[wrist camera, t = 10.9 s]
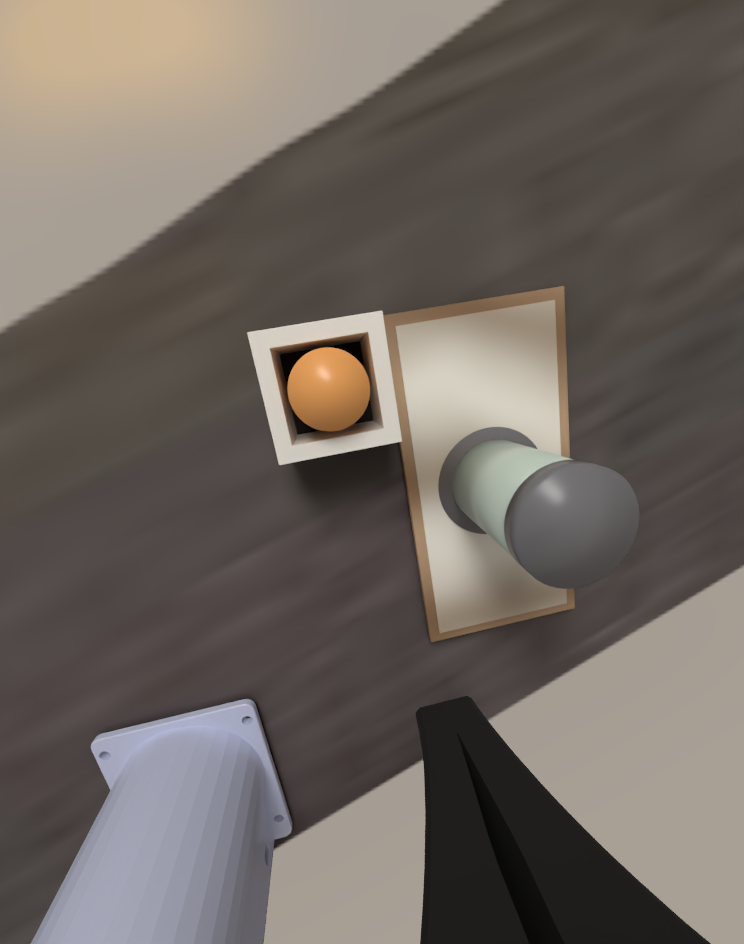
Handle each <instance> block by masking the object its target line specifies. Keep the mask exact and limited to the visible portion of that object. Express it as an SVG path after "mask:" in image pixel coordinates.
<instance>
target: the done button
mask: <svg viewBox="0 0 744 944" xmlns="http://www.w3.org/2000/svg"><path fill="white" fill-rule="evenodd" d="M287 389H288V398H289V401H290V404H291V407H292V409H293V410H294V412H295V414H296V415H297V416H298V417H299V418H300V419H301V420H302V421H303V422H304V423H305V424H307V425H308V426H310V427H312V428H314V429H317V430H321V431H331V432H332V431H339V430H343V429H345V428H347V427H349V426H351V425H353V424H354V423H355V422H356V421H357V420H358V419H359V418H360V417H361V416H362V415H363V413H364V412H365V410H366V408H367V405H368V402H369V398H370V383H369V378H368V375H367V373H366V371H365V369H364V367H363V366H362V364H361V363H360V362H359V361H358V360H357V359H356V358H355V357H354V356H353V355H351V354H350V353H348V352H346V351H344V350H341V349H338V348H332V347H324V348H318V349H315V350H312V351H310V352H308V353H306V354H305V355H304V356H302V357H301V358H300V359H299V360H298V361H297V362H296V364H295V365H294V367H293V368H292V370H291V373H290V375H289V379H288V386H287Z"/></svg>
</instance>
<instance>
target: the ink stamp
mask: <svg viewBox="0 0 744 944" xmlns="http://www.w3.org/2000/svg"><path fill="white" fill-rule="evenodd" d="M452 491H453V496H454V499H455V501H456V503H457V505H458V507H459V508H460V509H461V510H462V511H463V513H465V514H466V515H467V516H468V517H469V518H470V519H471V520H472V521H474V522H475V523H476V524H477V525H478V526H479V527H480V528H481V529H482V530H484V531H485V532H486V533H487V534H488V535H489V536H490V537H491V538H493V539H494V540H495V541H496V542H497V543H498V544H499V545H500V546H501V547H503V548H504V549H505V550H506V551H507V552H508V553H509V554H510V555H512V556H513V558H514V559H515V560H516V561H517V563H518V564H519V565H520V566H522V567H523V568H524V569H525V570H526V571H527V572H528V573H529V574H530V575H532V576H533V577H534V578H535V579H536V580H538V581H540V582H541V583H543V584H545V585H548V586H550V587H555V588H561V589H573V588H580V587H583V586H587V585H590V584H592V583H594V582H596V581H598V580H600V579H602V578H603V577H605V576H606V575H608V574H609V573H610V572H612V571H613V570H614V569H615V568H616V567H617V566H618V565H619V564H620V563H621V562H622V560H623V559H624V558H625V556H626V555H627V553H628V552H629V550H630V548H631V546H632V544H633V542H634V540H635V537H636V534H637V530H638V525H639V507H638V501H637V498H636V495H635V493H634V491H633V489H632V487H631V486H630V484H629V483H628V482H627V481H626V480H625V479H624V478H623V477H622V476H621V475H620V474H618V473H617V472H615V471H613V470H611V469H609V468H606V467H603V466H600V465H596V464H593V463H589V462H586V461H581V460H573V459H569V458H566V457H563V456H559V455H556V454H552V453H549V452H545V451H542V450H538V449H535V448H531V447H528V446H524V445H521V444H518V443H514V442H511V441H507V440H502V439H493V440H487V441H484V442H481V443H479V444H477V445H475V446H473V447H472V448H471V449H469V450H468V451H467V452H466V453H465V454H464V455H463V456H462V458H461V459H460V461H459V462H458V464H457V466H456V468H455V471H454V474H453V479H452Z"/></svg>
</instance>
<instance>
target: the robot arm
mask: <svg viewBox="0 0 744 944" xmlns="http://www.w3.org/2000/svg"><path fill="white" fill-rule="evenodd" d="M246 716H249V717H251V718H246ZM416 717H417V723H418V729H419V734H420V740H421V746H422V751H423V761H424V776H425V806H426V807H425V808H426V826H425V827H426V828H425V873H424V894H423V912H422V928H421V942H420V944H710V943H709V942H708V941H707V940H706V939H704V938H703V937H702V936H701V935H699V934H698V933H697V932H696V931H695V930H693V929H692V928H691V927H690V926H689V925H688V924H686V923H685V922H684V921H683V920H682V919H680V917H678V916H677V915H676V914H675V913H674V912H673V911H671V910H670V909H669V908H668V907H667V906H666V905H665V904H664V903H663V902H662V901H660V900H659V899H658V898H657V897H656V896H655V895H654V894H653V893H652V892H650V891H649V890H648V889H647V888H646V887H645V886H644V885H643V884H641V883H640V882H639V881H638V880H637V879H636V878H635V877H634V876H633V875H632V874H631V873H630V872H628V871H627V870H626V869H625V868H624V867H623V866H622V865H621V864H620V863H619V862H618V861H617V860H616V859H615V858H613V857H612V856H611V855H610V854H609V853H608V852H607V851H606V850H605V849H604V848H603V847H602V846H601V845H600V844H599V843H598V842H597V841H596V840H595V839H594V838H593V837H592V836H591V835H590V834H589V833H588V832H587V831H586V830H585V829H584V828H583V827H582V826H581V825H580V824H579V823H578V822H577V821H576V820H575V819H574V818H573V817H572V816H571V815H570V814H569V813H568V812H567V811H566V810H565V809H564V808H563V806H562V805H560V804H559V803H558V801H557V800H556V799H555V798H554V797H553V796H552V795H551V794H550V793H549V792H548V791H547V789H545V787H544V786H543V785H542V784H541V783H540V782H539V781H538V780H537V778H536V777H535V776H534V775H533V774H532V773H531V772H530V771H529V769H528V768H527V767H526V766H525V765H524V764H523V763H522V762H521V761H520V759H519V758H518V757H517V756H516V755H515V754H514V752H513V751H512V750H511V749H510V748H509V746H508V745H507V744H506V743H505V742H504V740H503V739H502V738H501V737H500V736H499V734H498V733H497V732H496V731H495V729H494V728H493V727H492V725H491V724H490V723H489V722H488V720H487V719H486V718H485V716H484V715H483V714H482V712H481V711H480V710H479V708H478V707H477V706H476V704H475V703H474V701H473V700H472V698H470V697H468V696H464V697H460V698H457V699H453V700H449V701H445V702H441V703H437V704H433V705H429V706H425V707H421V708H419V709H418V711H417V712H416ZM91 750H92V752H93V754H94V756H95V759H96V761H97V763H98V765H99V767H100V769H101V771H102V773H103V775H104V778H105V780H106V782H107V784H108V786H109V788H110V790H111V791H110V793H109V795H108V796H107V798H106V800H105V802H104V804H103V806H102V808H101V810H100V812H99V814H98V816H97V818H96V819H95V821H94V823H93V825H92V827H91V829H90V831H89V833H88V835H87V837H86V839H85V841H84V843H83V844H82V846H81V848H80V850H79V852H78V854H77V856H76V858H75V860H74V862H73V864H72V866H71V867H70V869H69V871H68V873H67V875H66V877H65V879H64V881H63V883H62V885H61V887H60V889H59V891H58V892H57V894H56V896H55V898H54V900H53V902H52V904H51V906H50V908H49V910H48V912H47V914H46V915H45V917H44V919H43V921H42V923H41V925H40V927H39V929H38V931H37V933H36V935H35V937H34V939H33V940H32V942H31V944H263V942H264V932H265V924H266V914H267V905H268V895H269V886H270V877H271V876H270V875H271V867H272V857H273V848H274V840H275V839H279V838H283V837H286V836H288V835H289V834H290V833H291V831H292V820H291V816H290V813H289V810H288V807H287V804H286V800H285V797H284V794H283V791H282V788H281V784H280V781H279V778H278V775H277V772H276V768H275V765H274V762H273V759H272V755H271V752H270V749H269V746H268V743H267V739H266V736H265V733H264V730H263V727H262V723H261V720H260V717H259V714H258V711H257V707H256V704H255V703H254V702H253V701H252V700H250V699H243V700H239V701H234V702H230V703H226V704H222V705H218V706H214V707H210V708H206V709H201V710H197V711H193V712H189V713H185V714H181V715H177V716H173V717H168V718H164V719H160V720H156V721H152V722H148V723H144V724H140V725H136V726H131V727H127V728H123V729H119V730H115V731H111V732H107V733H103V734H100V735H98V736H97V737H96V738H95V739H94V741H93V742H92V744H91Z"/></svg>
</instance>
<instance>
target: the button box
mask: <svg viewBox="0 0 744 944" xmlns="http://www.w3.org/2000/svg"><path fill="white" fill-rule="evenodd" d="M247 334H248V338H249V342H250V346H251V350H252V355H253V359H254V363H255V367H256V371H257V375H258V379H259V384H260V388H261V392H262V396H263V400H264V404H265V408H266V413H267V417H268V421H269V425H270V429H271V433H272V437H273V442H274V446H275V450H276V454H277V458H278V462H279V465H283V464H288V463H293V462H298V461H304V460H309V459H314V458H319V457H324V456H330V455H335V454H340V453H345V452H350V451H356V450H361V449H366V448H371V447H376V446H381V445H387V444H392V443H397V442H402V438H401V431H400V424H399V418H398V411H397V404H396V398H395V391H394V385H393V378H392V371H391V365H390V358H389V351H388V345H387V338H386V332H385V325H384V318H383V312H382V311H377V312H371V313H364V314H358V315H352V316H346V317H340V318H334V319H327V320H321V321H315V322H309V323H303V324H296V325H290V326H284V327H278V328H272V329H266V330H259V331H253V332H247ZM358 341H360V345H361V351H362V357H363V363H364V369H365V371H366V373H367V375H368V378H369V383H370V404H371V410H372V416H373V421H368V422H363V423H358V424H353V425H351V426H349V427H347V428H345V429H343V430H339V431H332V432H331V431H321V430H320V431H315V432H309V433H304V434H299V435H297V430H296V426H295V421H294V417H293V412H292V408H291V404H290V401H289V398H288V390H287V385H286V381H285V376H284V372H283V367H282V363H281V358H280V355H281V354H287V353H293V352H298V351H304V350H310V349H316V348H322V347H328V346H334V345H340V344H346V343H352V342H358Z"/></svg>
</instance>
